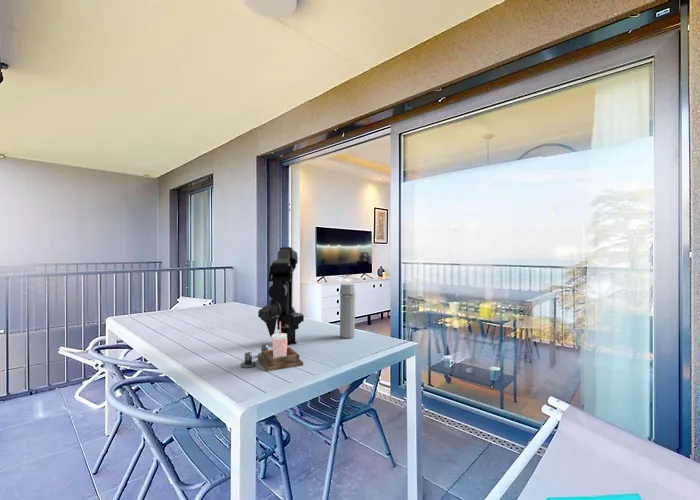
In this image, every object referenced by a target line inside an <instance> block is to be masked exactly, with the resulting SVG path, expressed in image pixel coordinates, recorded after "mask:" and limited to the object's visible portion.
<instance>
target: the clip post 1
mask: <svg viewBox="0 0 700 500" xmlns="http://www.w3.org/2000/svg"><path fill="white" fill-rule="evenodd" d="M254 367H256V362H255V361H254V360H253V353H252V352H250V351H248V352H245V353H244V361H243V362H241V363H240V368H243V369H251V368H254Z"/></svg>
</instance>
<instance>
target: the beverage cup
mask: <svg viewBox="0 0 700 500" xmlns="http://www.w3.org/2000/svg"><path fill="white" fill-rule="evenodd" d="M279 332H280V333H279ZM279 332H278V333H274V334H273V335H272V337H271V339H272V350H273V358H276V357H282V356H286V355H287V347H288V344H287V334H286V333H281V321H280V330H279Z"/></svg>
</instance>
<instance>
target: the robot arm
mask: <svg viewBox="0 0 700 500" xmlns="http://www.w3.org/2000/svg"><path fill="white" fill-rule="evenodd" d="M298 259H299V258H298V252H297V251H295V250H294V249H293V247H291V246H281V247H279V250H278V252H277V258H276V259H275V260H273V261H272V263H271V265H270V264H269V265H270V266H269V273H268V282H272V284H271V286H270V287H269V288H268V290H267V291H268V292H267V293H268V297H270V298H269V303H268V304H267V305H264V306H263V307H262V308H260V309H259V310H258V312H257V313H258V315H257V316H258V318H260V321H261V320H262V321H263V322H264V323H265V325H266V327H267V331H268V333H269V336H270V338H272V335H273V334H275V331H276V329H277V331H279V332H278V333H280V321H281V333H286V334H287V345H292V344H297V341H296V330H298V329H300V328H299V327H300V324H301V323H302V322H304V319H305V316H304V314H303V313H300V312H296V309H295V307H293V274H294V271H295V269H296V268H297V265H298V263H299V262H298V261H299V260H298Z"/></svg>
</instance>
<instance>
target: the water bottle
mask: <svg viewBox="0 0 700 500" xmlns="http://www.w3.org/2000/svg"><path fill="white" fill-rule="evenodd" d="M338 295H339V296H340V298H339V299H340V300H339V303H340V304H339V305H340V307H339V308H340V309H339V313H340V314H339V320H340V321H339V336H340V338H343V339H352V338H354V337H355V335H356V333H355V331H356V295H357V294H356V288H355V284H354V283H340V289H339V294H338Z"/></svg>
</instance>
